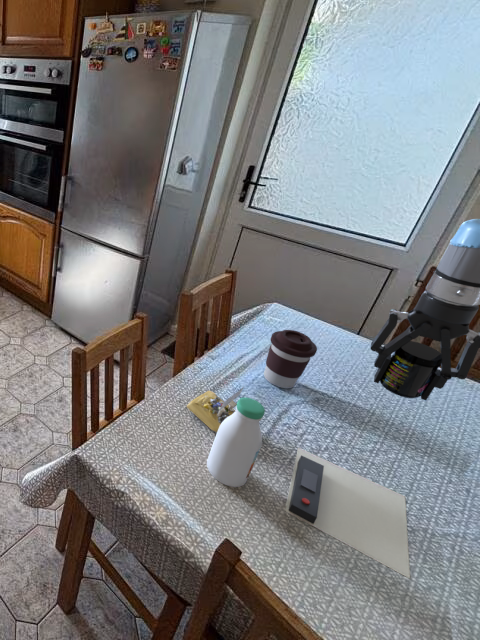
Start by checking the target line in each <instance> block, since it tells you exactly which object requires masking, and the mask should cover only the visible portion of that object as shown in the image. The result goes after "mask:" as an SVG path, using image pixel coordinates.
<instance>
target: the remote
mask: <svg viewBox="0 0 480 640" xmlns="http://www.w3.org/2000/svg"><path fill="white" fill-rule="evenodd" d="M323 469H324V466H323V465H321V464H319V463H317V462H315V461H312V460H310V459H308V458H306V457H304V456H302V455H301V457H300V459H299V461H298V465H297V470H296V476H295V481H294V486H293V491H292V496H291V501H290V506H289V511H290V512H292V513H294V514H296V515H298V516H300V517H301V518H303V519H305V520H307V521H309V522H311V523H312V524H314V522H315V520H316V518H317V514H318V506H319V499H320V491H321V484H322V476H323Z"/></svg>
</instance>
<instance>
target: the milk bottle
mask: <svg viewBox="0 0 480 640" xmlns="http://www.w3.org/2000/svg"><path fill="white" fill-rule="evenodd" d="M236 404H237V405H236V406H235V412H234V413H233V414H232V415H230V416H229V417H227V418H226V419H225V420H224V421H223V422H222V423H221V425H220V427H219V429H218V431H217V432H216V435H215V437H214V440H213V443H212V445H211V449H210V450H209V451H210V452H209V454H208V457H207V460H206V467H207V470H208V472H209V473H210V475H211V476H212V477H213V478H214V479H215V480H216V481H217V482H219V483H220V484H223V485H224V486H228V487H231V488H241V487H242V486H244V485H245V484H246V483H247V481H248V479H249V477H250V474H251V472H252V470H253V468H254V465H255V463H256V460H257V458H258V456H259V453H260V450H261V447H262V442H263V436H262V435H263V434H262V430H261V426H260V422H261V421H262V420H263V417H264V416H265V412H266V411H265V410H266V409H265V407H264V405H263V404H262V403H261V402H259V401H258V400H256V399H255V398H252V397H251V398H250V397H240V398H239V399H238V400H237V403H236Z"/></svg>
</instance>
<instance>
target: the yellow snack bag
mask: <svg viewBox="0 0 480 640" xmlns="http://www.w3.org/2000/svg"><path fill="white" fill-rule="evenodd" d="M244 388H245V386H243V387H242V388H240V389H239V390H238V391H236V392H235V393H233V394H232V395H231V396H229V397H228V398H227V399H225V400H223V399H222V398H220V397H219V396H218V395H217V394H216V393H215V392H213V391H211V390H207V391H205V392H204V393H202V394H200V395H198V396H196V397H195V398H194V399H192V400H191V401H190V402H188V404H186V408H187V409H188V410H189V411H190V412H191V413H193V415H195V416H196V417H197V418H198V419H199V420H200V422H202V423H203V424H205V426H206V427H208V428H209V429H210V430H211V431H213V432H215V433H217V431H218V429H219V427H220V425H221V423H222V422H223V421H224V420H225V419H226V418H227V417H229V416H230V415H232V414H233V413H234V412H235V411H236V409H235V408H236V406H237V403H236V402H235V401H234V400H236V399H237V398H238V397H239V396H240V395H241V393H242V391H243V390H244Z"/></svg>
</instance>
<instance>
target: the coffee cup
mask: <svg viewBox="0 0 480 640" xmlns="http://www.w3.org/2000/svg"><path fill="white" fill-rule="evenodd" d="M269 340H270V343H271V344H270V346H269V349H268V353H267V356H266V360H265V368H264V371H263V377H264V378H265V380H266V381H267V382H268V383H270V384H271V385H273V386H275V387H277V388H282V389H291V388H294V387H295V385H296V384H297V383H298V380H299V379H300V378H301V377H302V375H303V373H304V371H305V370H306V368H307V366H308V364H309V362H310V361H311V358H312V357H314V356H315V355H316V353H317V351H318V347H317V345H316V344H315V342H313V341H312V339H311V337H309V336H308V335H306V334H305V333H303V332H301V331H298V330H295V329H283V330H278V331H274V332H273V333H272V334H271V337H270V339H269Z"/></svg>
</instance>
